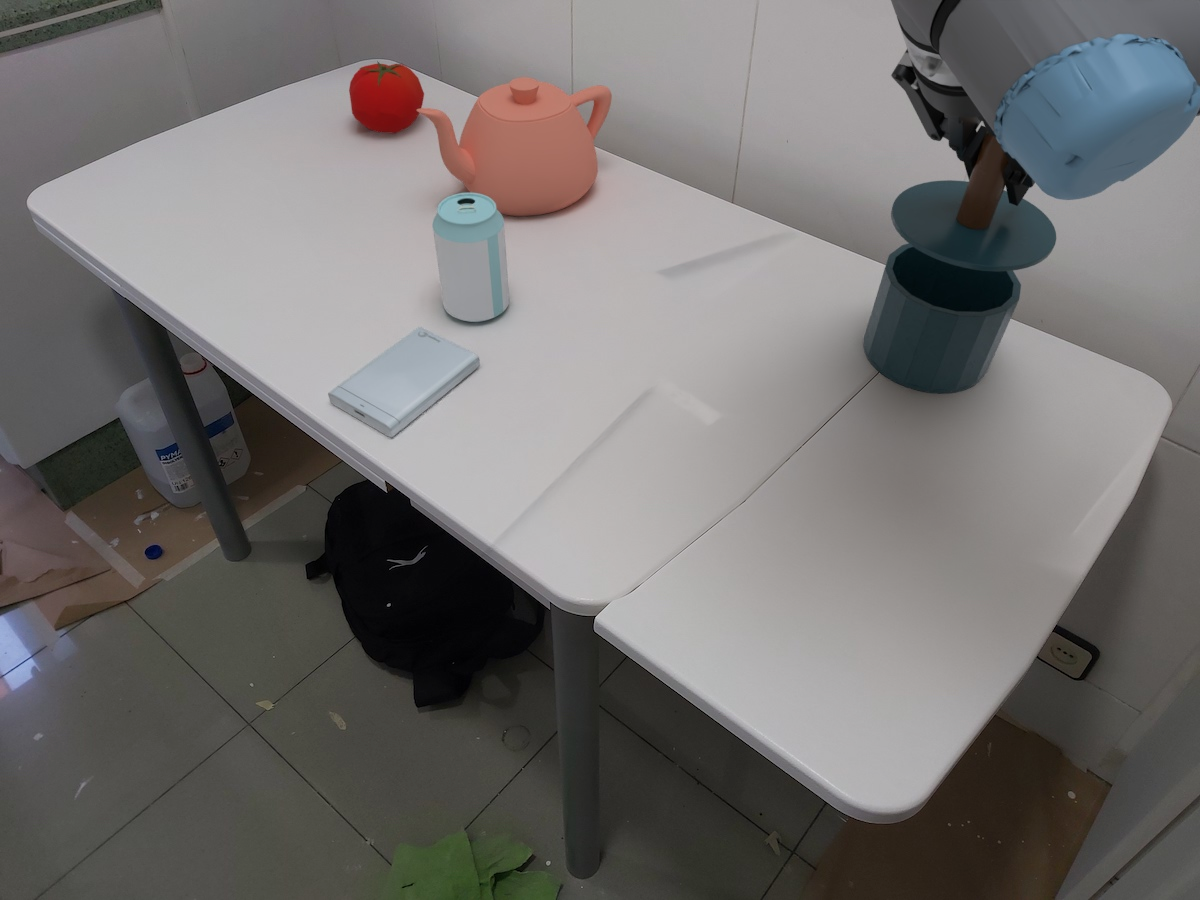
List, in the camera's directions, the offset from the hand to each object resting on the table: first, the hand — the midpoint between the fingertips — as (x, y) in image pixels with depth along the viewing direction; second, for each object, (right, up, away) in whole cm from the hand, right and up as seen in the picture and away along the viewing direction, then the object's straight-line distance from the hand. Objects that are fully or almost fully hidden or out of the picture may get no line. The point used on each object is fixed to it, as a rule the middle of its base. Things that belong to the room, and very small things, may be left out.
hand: (1002, 182), depth 75 cm
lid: (-3, -4, 0) cm, 5 cm away
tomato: (-63, +22, +48) cm, 83 cm away
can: (-48, -7, +20) cm, 52 cm away
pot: (-1, -13, +16) cm, 20 cm away
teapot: (-44, +10, +37) cm, 59 cm away
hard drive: (-53, -17, +11) cm, 57 cm away
